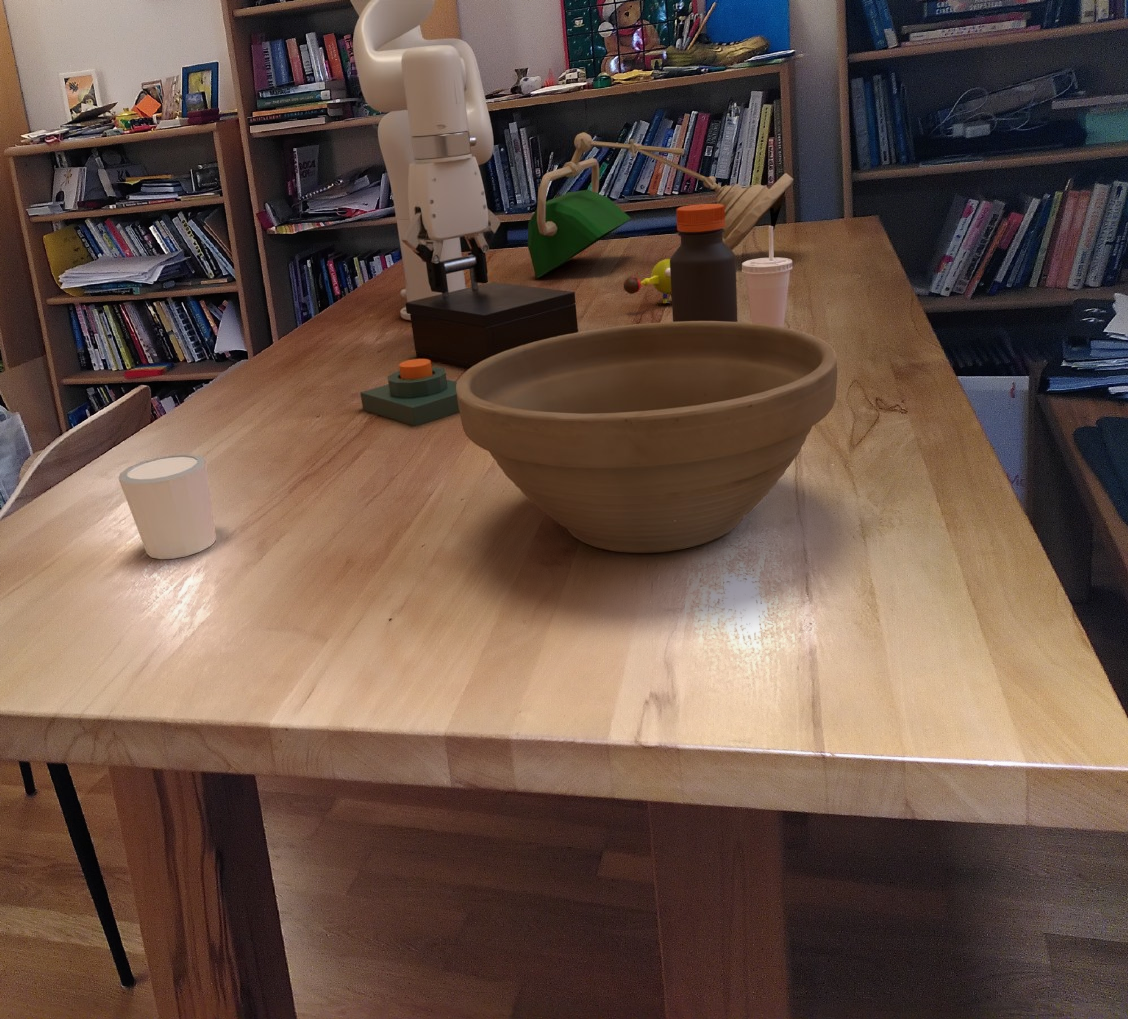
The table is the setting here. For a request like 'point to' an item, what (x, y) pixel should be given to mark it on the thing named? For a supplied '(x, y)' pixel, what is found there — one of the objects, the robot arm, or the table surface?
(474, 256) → the grill lid
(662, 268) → the toy figure
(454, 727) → the table surface
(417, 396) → the button block
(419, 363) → the button
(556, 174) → the desk lamp
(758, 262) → the smoothie
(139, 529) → the white cylinder
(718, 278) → the bottle
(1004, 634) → the table surface
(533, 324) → the dark open lidded box
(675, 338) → the brown mixing bowl
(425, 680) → the table surface
